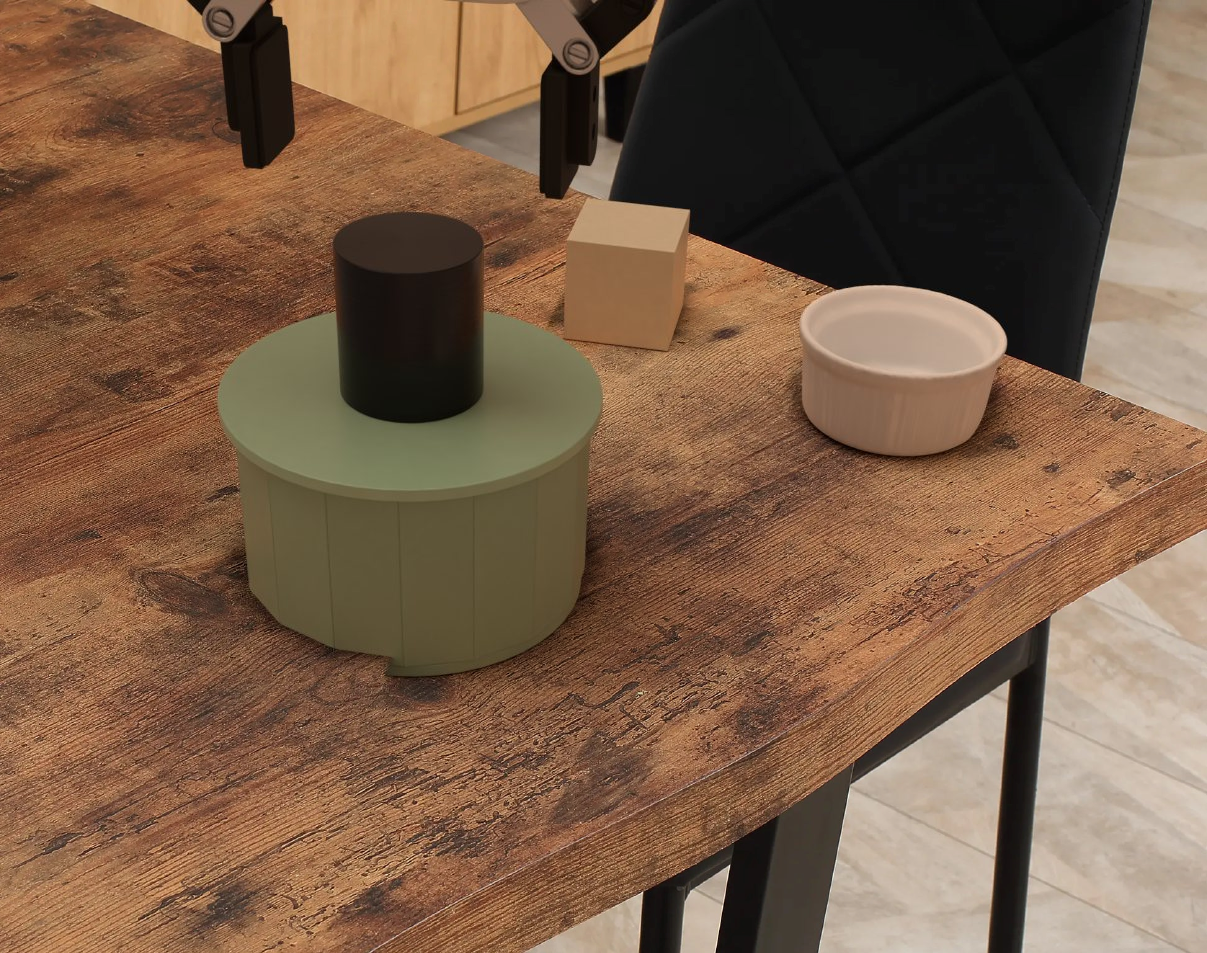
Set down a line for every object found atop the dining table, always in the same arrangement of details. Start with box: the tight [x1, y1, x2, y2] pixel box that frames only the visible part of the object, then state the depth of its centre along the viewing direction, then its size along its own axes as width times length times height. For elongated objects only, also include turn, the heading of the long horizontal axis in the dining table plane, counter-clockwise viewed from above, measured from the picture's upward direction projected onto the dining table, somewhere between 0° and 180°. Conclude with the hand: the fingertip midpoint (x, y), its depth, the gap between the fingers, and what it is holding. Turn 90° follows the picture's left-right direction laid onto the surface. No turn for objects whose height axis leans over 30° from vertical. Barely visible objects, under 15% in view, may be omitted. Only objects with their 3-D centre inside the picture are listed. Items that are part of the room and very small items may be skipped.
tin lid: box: [216, 211, 604, 502], centre depth 59 cm, size 13×13×7 cm
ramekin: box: [798, 284, 1008, 457], centre depth 75 cm, size 9×9×4 cm
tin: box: [235, 439, 591, 678], centre depth 63 cm, size 12×12×8 cm
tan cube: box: [562, 198, 691, 352], centre depth 82 cm, size 5×5×5 cm
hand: (413, 168), depth 56 cm, fingers open, 9 cm apart
